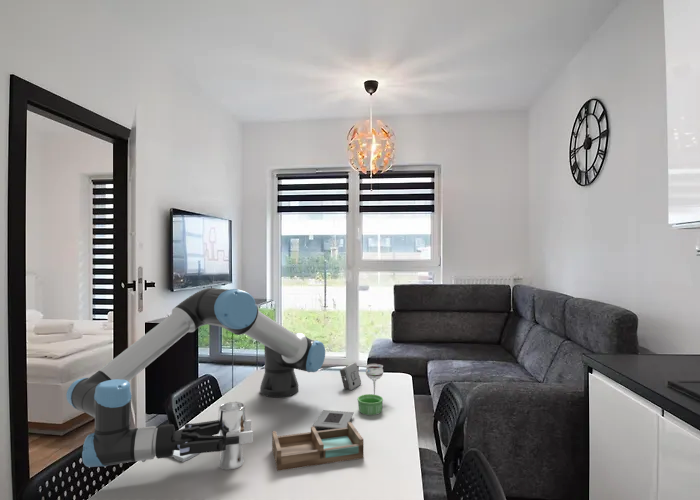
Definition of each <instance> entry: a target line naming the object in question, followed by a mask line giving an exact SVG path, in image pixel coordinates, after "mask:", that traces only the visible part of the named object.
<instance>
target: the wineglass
mask: <svg viewBox="0 0 700 500" xmlns="http://www.w3.org/2000/svg"><path fill="white" fill-rule="evenodd" d="M383 367H384V365H383V364H379V363H369V364H366V365H365V368H366V369H365V375H366V376H367V377H368V379H370V380H371V381H372V382H373V383H372V384H373V394H374V395H376V382H377V380H379V379H381V378H382V376H383V375H384V369H383Z"/></svg>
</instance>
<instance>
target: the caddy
mask: <svg viewBox="0 0 700 500" xmlns="http://www.w3.org/2000/svg"><path fill="white" fill-rule="evenodd" d="M271 437H272V441H271V442H272V443H271V448H272V449H271V450H272V455H273V458H274V462H275V463H274V464H275V468H276V471H277V472H280V471H286V470H287V471H288V470H293V469H299V468H306V467H313V466H318V465H319V466H320V465H326V464H333V463H338V462H345V461H352V460H358V459H364V457H365V456H364V438H363V436H362V435H361V434H360V433H359V431H358V430H357V429H356V427H355V426H354V424H353V423H352V422H351V421H350V422H347V427H346V428H338V429H322V430H317V428H315V427H314V426H313V425H312V426H311V427H310V431H309V432H299V433H292V434H284V435H278V434H277V431H276V430H273V431H272V434H271Z"/></svg>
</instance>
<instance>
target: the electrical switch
mask: <svg viewBox="0 0 700 500" xmlns="http://www.w3.org/2000/svg"><path fill="white" fill-rule="evenodd" d="M339 373H340V376H341V381H342V384H343V388H344V389H345V390H347V389H349V391H352V390H354V389H355V388H357V387H359V386H360V385H362V379H361V376H360V373H359V368H358V364H357V362H352V363H350V364H349V365H347V366H345V367H343V368H341V369H339Z"/></svg>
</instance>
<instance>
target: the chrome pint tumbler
mask: <svg viewBox="0 0 700 500" xmlns="http://www.w3.org/2000/svg"><path fill="white" fill-rule="evenodd" d="M217 420H218V433H219V434H218V436H226V434H231V433H237V432H245V423H246V406H245V403H243V402H241V401H240V402H239V401H232V402H231V401H229V402H225V403H222V404H221V405H220V406H219V407H218V416H217ZM243 445H244V444H237V445H229V446H226V450H224V451H220V460H219V467H220V468H221V469H222V470H225V471H227V470H228V471H231V470H236V469H239V468H241V467H242V466H243V465H244V463H245V461H244V455H243Z"/></svg>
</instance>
